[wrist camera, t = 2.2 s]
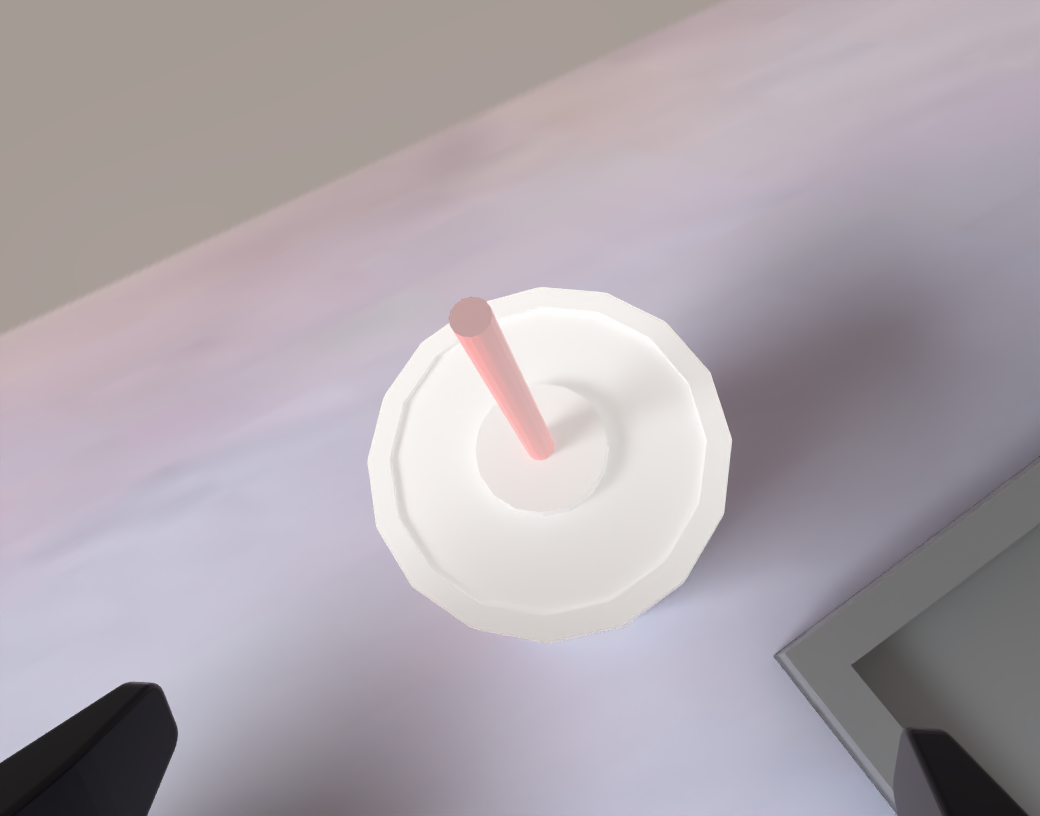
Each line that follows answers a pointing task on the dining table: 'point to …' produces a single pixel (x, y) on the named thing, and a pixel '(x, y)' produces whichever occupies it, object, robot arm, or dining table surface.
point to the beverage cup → (549, 464)
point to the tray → (941, 648)
